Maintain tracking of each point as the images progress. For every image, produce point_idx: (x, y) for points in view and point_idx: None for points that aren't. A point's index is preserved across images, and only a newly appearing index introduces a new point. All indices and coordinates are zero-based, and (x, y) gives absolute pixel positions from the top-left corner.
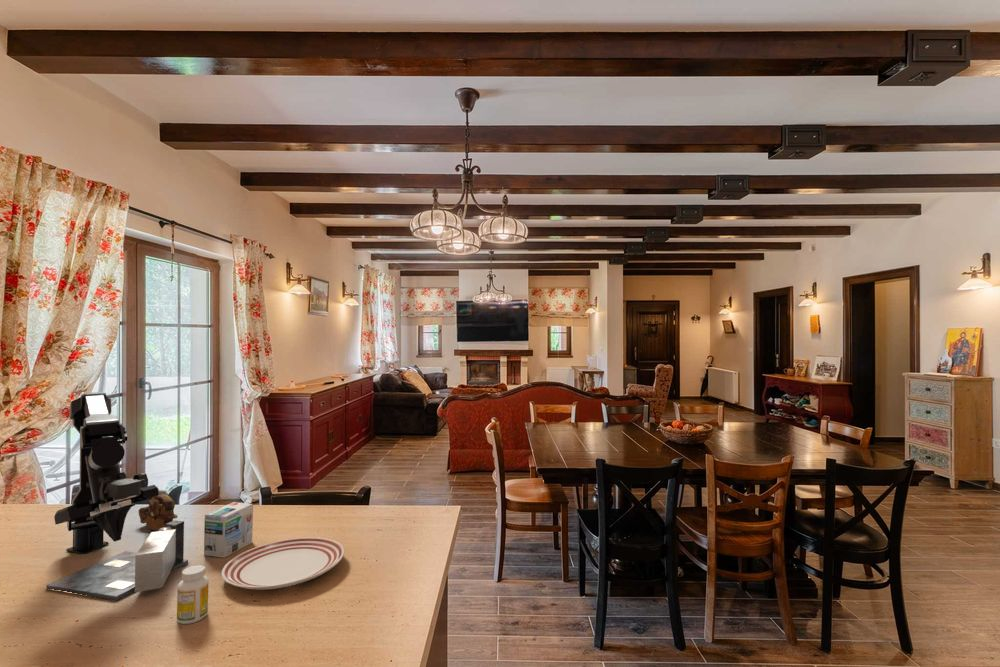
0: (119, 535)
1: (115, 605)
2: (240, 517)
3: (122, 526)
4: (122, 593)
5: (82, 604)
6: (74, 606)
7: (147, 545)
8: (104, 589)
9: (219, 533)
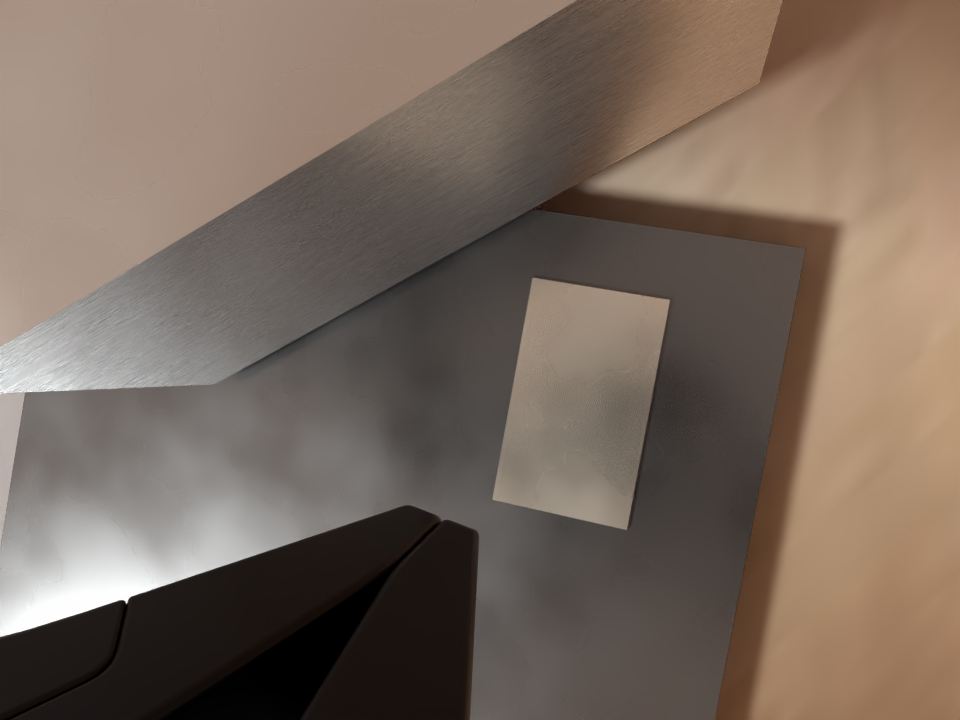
0: (398, 535)
1: (876, 196)
2: None
3: (219, 584)
4: (738, 239)
5: (879, 537)
6: (922, 585)
7: (404, 6)
8: (678, 487)
9: None
